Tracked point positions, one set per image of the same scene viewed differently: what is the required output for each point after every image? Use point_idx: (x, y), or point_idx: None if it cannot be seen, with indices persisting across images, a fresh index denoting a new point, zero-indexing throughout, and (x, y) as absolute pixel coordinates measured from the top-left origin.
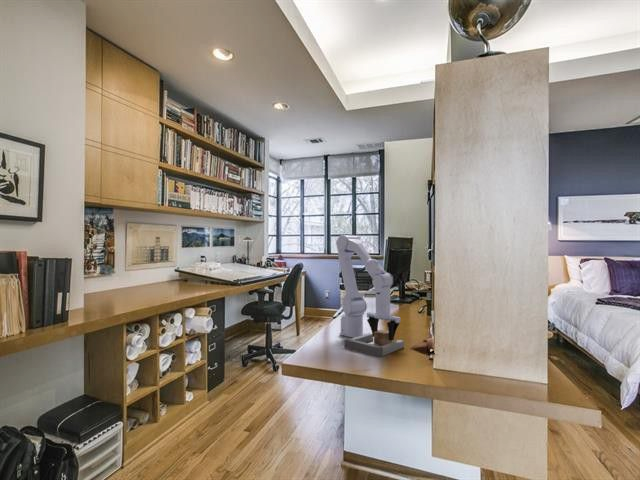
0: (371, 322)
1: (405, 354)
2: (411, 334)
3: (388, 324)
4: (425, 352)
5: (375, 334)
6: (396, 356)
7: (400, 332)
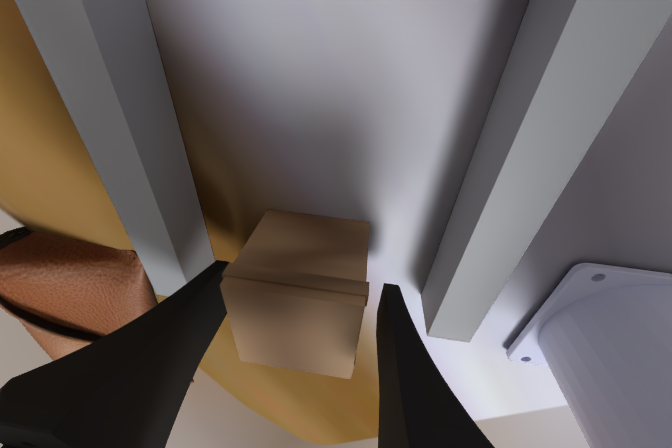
0: (412, 437)
1: (52, 142)
2: (309, 417)
3: (57, 399)
4: (32, 237)
5: (343, 279)
6: (17, 34)
7: (361, 424)
